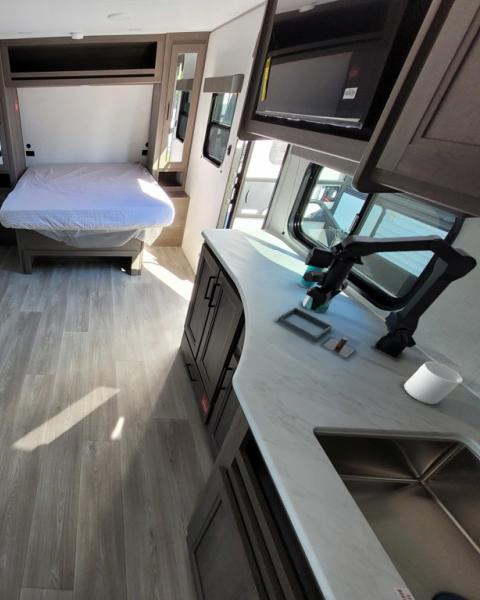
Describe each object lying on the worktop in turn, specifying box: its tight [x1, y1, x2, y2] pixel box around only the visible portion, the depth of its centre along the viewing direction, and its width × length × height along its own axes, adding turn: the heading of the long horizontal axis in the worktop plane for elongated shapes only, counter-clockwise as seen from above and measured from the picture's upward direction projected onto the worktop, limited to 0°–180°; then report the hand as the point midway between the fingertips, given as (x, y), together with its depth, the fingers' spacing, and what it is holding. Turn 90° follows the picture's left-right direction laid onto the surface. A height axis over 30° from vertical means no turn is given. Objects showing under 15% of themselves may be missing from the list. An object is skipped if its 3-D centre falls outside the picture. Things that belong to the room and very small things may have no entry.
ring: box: [305, 298, 330, 315], centre depth 116 cm, size 6×6×3 cm
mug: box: [403, 361, 464, 405], centre depth 95 cm, size 12×8×10 cm
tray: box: [276, 307, 333, 343], centre depth 122 cm, size 14×13×2 cm
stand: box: [323, 336, 356, 359], centre depth 111 cm, size 8×8×5 cm
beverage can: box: [299, 265, 324, 289], centre depth 145 cm, size 6×6×15 cm
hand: (316, 307), depth 116 cm, fingers closed on ring, 6 cm apart
